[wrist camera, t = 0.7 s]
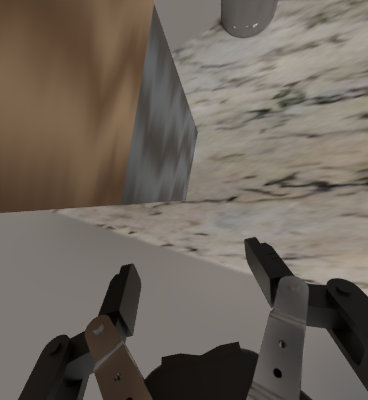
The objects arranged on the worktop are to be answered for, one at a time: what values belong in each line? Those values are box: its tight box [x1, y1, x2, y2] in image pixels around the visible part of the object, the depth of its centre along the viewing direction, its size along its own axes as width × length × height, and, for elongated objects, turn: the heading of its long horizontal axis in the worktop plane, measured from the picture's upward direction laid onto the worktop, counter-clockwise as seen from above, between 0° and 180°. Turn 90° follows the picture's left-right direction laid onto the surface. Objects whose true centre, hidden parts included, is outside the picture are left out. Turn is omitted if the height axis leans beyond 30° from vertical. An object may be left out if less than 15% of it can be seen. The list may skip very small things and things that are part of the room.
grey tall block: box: [0, 0, 198, 213], centre depth 21 cm, size 13×15×33 cm
